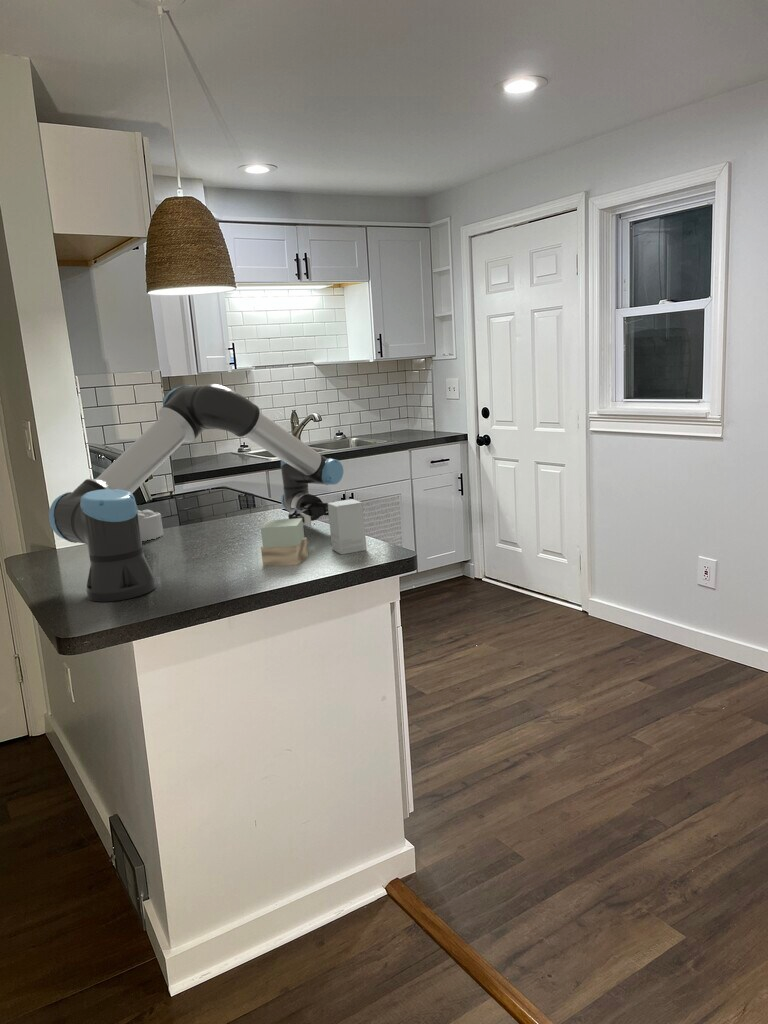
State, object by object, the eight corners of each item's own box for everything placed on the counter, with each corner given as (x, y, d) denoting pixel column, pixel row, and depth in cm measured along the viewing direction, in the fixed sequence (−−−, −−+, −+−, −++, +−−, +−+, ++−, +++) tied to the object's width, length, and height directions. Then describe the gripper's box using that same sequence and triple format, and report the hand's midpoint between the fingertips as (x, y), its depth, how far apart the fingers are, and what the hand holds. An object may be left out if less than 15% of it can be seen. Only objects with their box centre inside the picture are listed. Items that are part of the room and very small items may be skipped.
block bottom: (297, 565, 187) (295, 546, 186) (263, 566, 189) (260, 547, 188) (308, 556, 196) (306, 537, 195) (275, 557, 198) (273, 538, 197)
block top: (299, 545, 187) (297, 525, 186) (263, 547, 187) (260, 528, 186) (304, 536, 196) (302, 517, 195) (269, 539, 196) (267, 520, 195)
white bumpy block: (118, 539, 236) (114, 512, 234) (161, 532, 241) (157, 506, 239) (121, 545, 227) (116, 517, 225) (165, 538, 232) (161, 510, 230)
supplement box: (367, 550, 196) (363, 502, 193) (340, 555, 193) (335, 506, 191) (357, 544, 203) (353, 498, 200) (331, 549, 200) (326, 502, 198)
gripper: (347, 512, 230) (376, 523, 211) (268, 526, 220) (290, 538, 201) (345, 488, 229) (374, 497, 209) (265, 500, 219) (287, 511, 200)
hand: (333, 517), depth 205 cm, fingers open, 13 cm apart
